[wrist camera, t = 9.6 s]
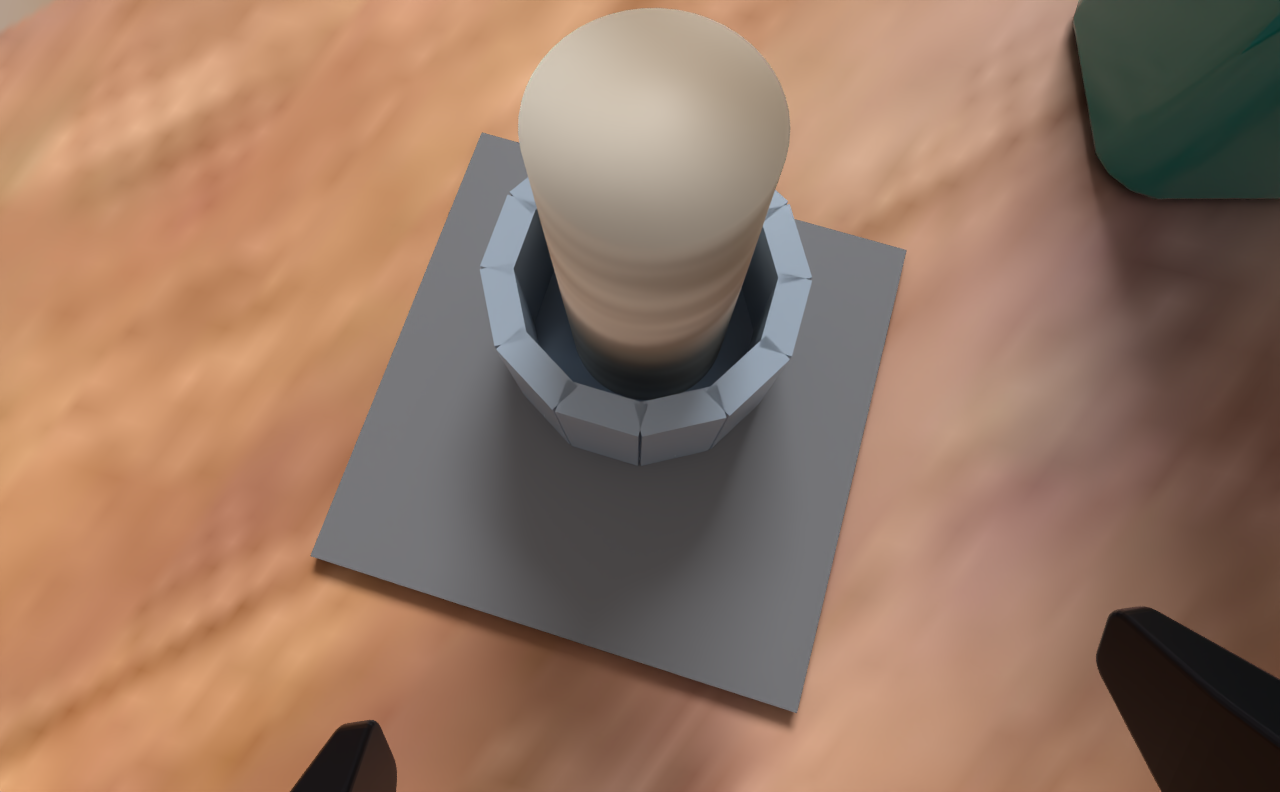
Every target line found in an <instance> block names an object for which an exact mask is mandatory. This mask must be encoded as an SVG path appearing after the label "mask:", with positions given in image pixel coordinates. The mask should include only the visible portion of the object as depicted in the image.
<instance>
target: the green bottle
mask: <svg viewBox="0 0 1280 792" xmlns="http://www.w3.org/2000/svg"><path fill="white" fill-rule="evenodd" d="M1073 27H1074V33H1075V38H1076V44H1077V50H1078V56H1079V62H1080V67H1081V73H1082V79H1083V85H1084V91H1085V97H1086V102H1087V108H1088V114H1089V120H1090V126H1091V132H1092V137H1093V143H1094V149H1095V154H1096V155H1097V157H1098V159H1099V160H1100V162H1101V163H1102V165H1103V166H1104V168H1105V170H1106V171H1107V173H1108V174H1109V175H1110V176H1112V177H1113V178H1114V179H1116V180H1117V181H1118V182H1120V183H1121V184H1122V185H1123V186H1125V187H1126V188H1127V189H1129V190H1130V191H1132V192H1135V193H1138V194H1141V195H1144V196H1147V197H1150V198H1152V199H1280V0H1079V2H1078V5H1077V8H1076V12H1075V15H1074V19H1073Z"/></svg>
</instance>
